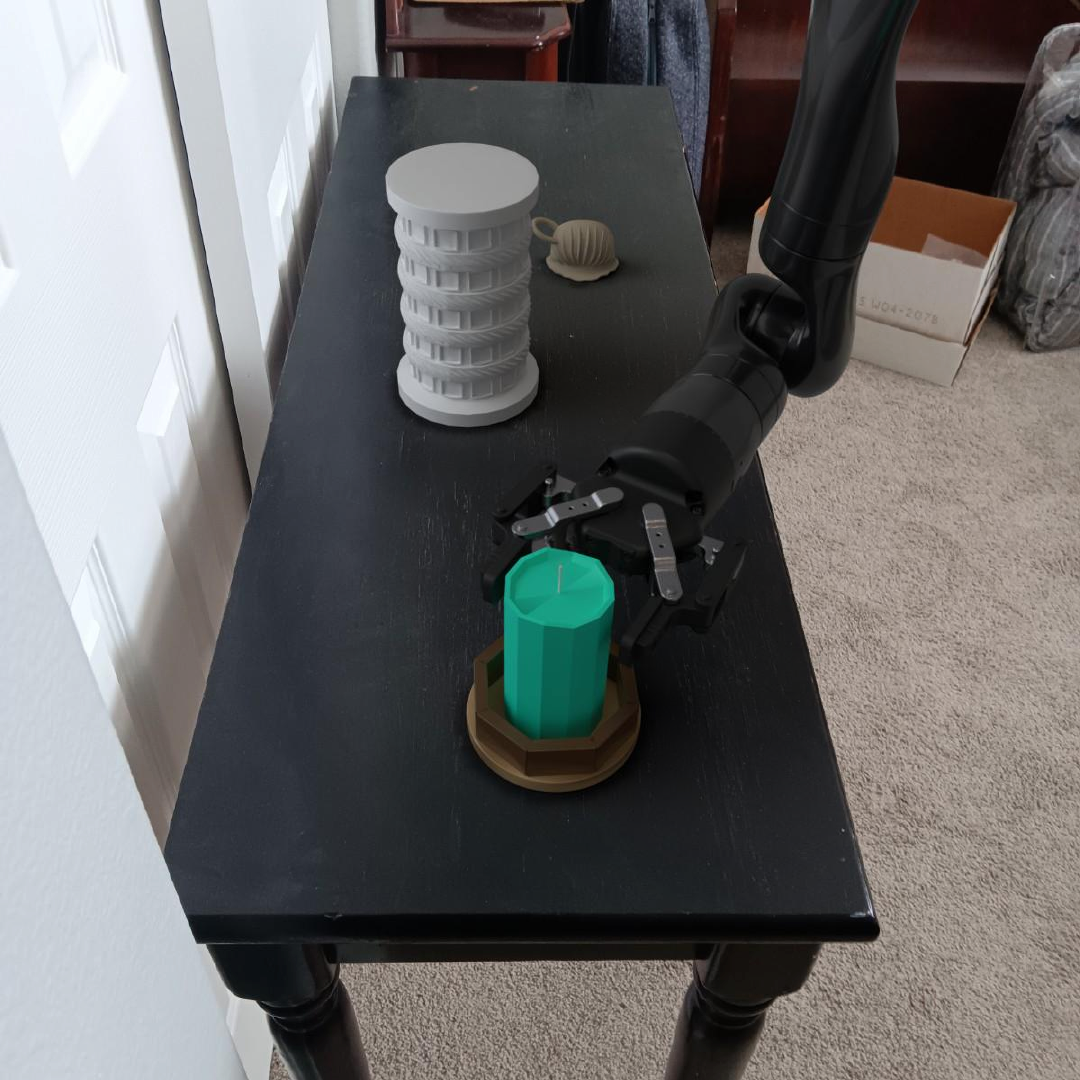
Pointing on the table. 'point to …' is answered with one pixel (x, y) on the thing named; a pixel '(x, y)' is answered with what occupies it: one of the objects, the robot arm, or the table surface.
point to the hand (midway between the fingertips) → (554, 623)
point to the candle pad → (552, 759)
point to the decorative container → (465, 281)
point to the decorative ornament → (579, 249)
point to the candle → (556, 643)
